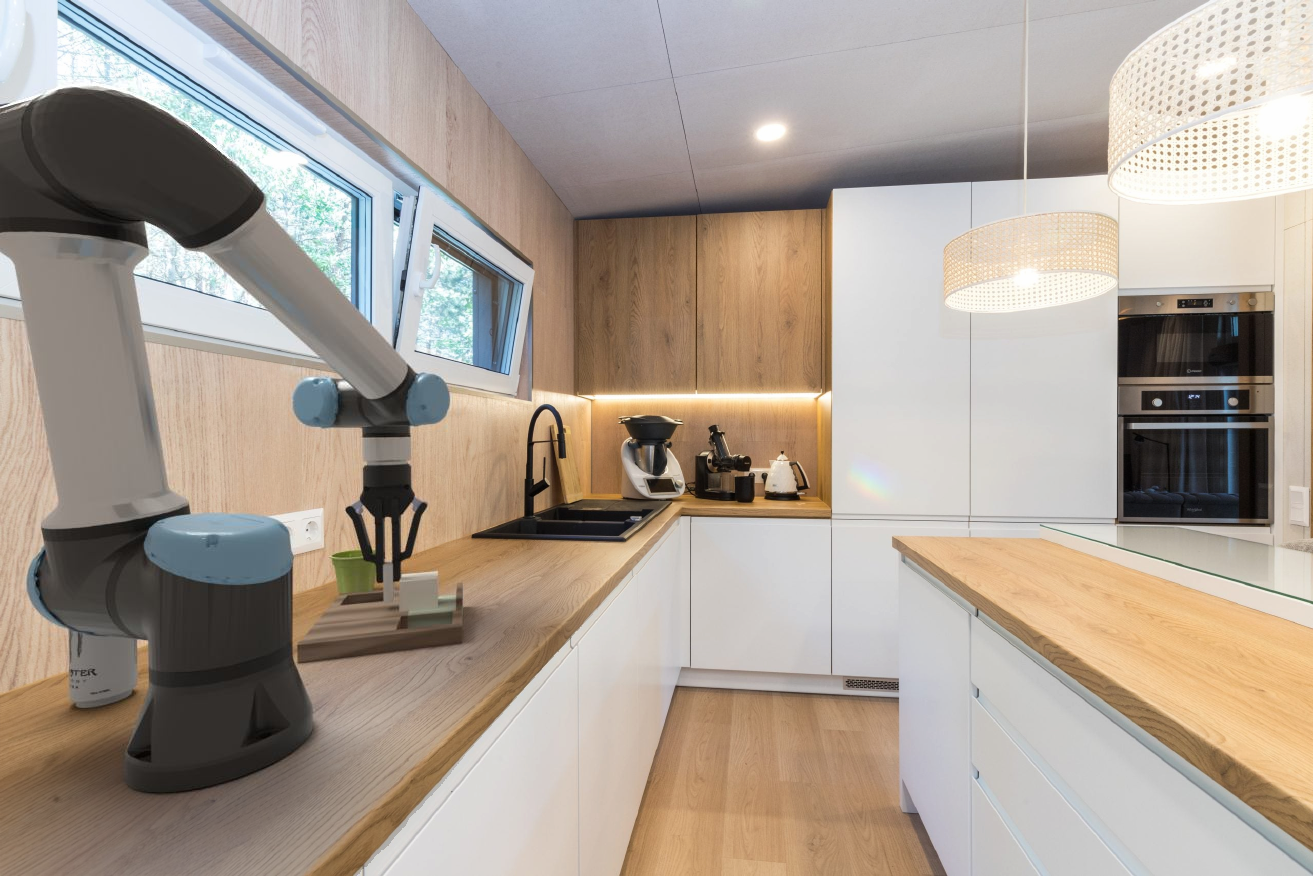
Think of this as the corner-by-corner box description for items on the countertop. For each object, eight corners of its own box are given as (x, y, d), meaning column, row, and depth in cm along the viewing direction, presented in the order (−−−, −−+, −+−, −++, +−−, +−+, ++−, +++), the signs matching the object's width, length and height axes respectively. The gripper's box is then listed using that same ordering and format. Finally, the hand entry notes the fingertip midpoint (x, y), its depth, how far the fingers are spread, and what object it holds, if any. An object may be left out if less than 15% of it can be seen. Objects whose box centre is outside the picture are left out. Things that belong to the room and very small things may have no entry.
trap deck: (462, 642, 87) (461, 613, 87) (297, 662, 80) (297, 630, 80) (463, 594, 115) (463, 572, 115) (340, 606, 108) (340, 582, 108)
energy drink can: (59, 705, 68) (57, 580, 68) (122, 684, 74) (121, 569, 74) (84, 714, 66) (82, 584, 66) (148, 692, 71) (146, 572, 71)
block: (437, 607, 97) (437, 578, 97) (399, 612, 95) (398, 582, 95) (438, 598, 103) (437, 571, 103) (402, 602, 101) (401, 574, 101)
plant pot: (374, 587, 122) (373, 547, 122) (388, 595, 115) (388, 552, 115) (325, 596, 116) (324, 553, 116) (337, 605, 109) (336, 560, 109)
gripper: (429, 461, 103) (431, 591, 103) (348, 463, 99) (350, 599, 99) (426, 463, 96) (428, 603, 96) (340, 465, 92) (342, 611, 92)
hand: (389, 601), depth 97 cm, fingers closed
